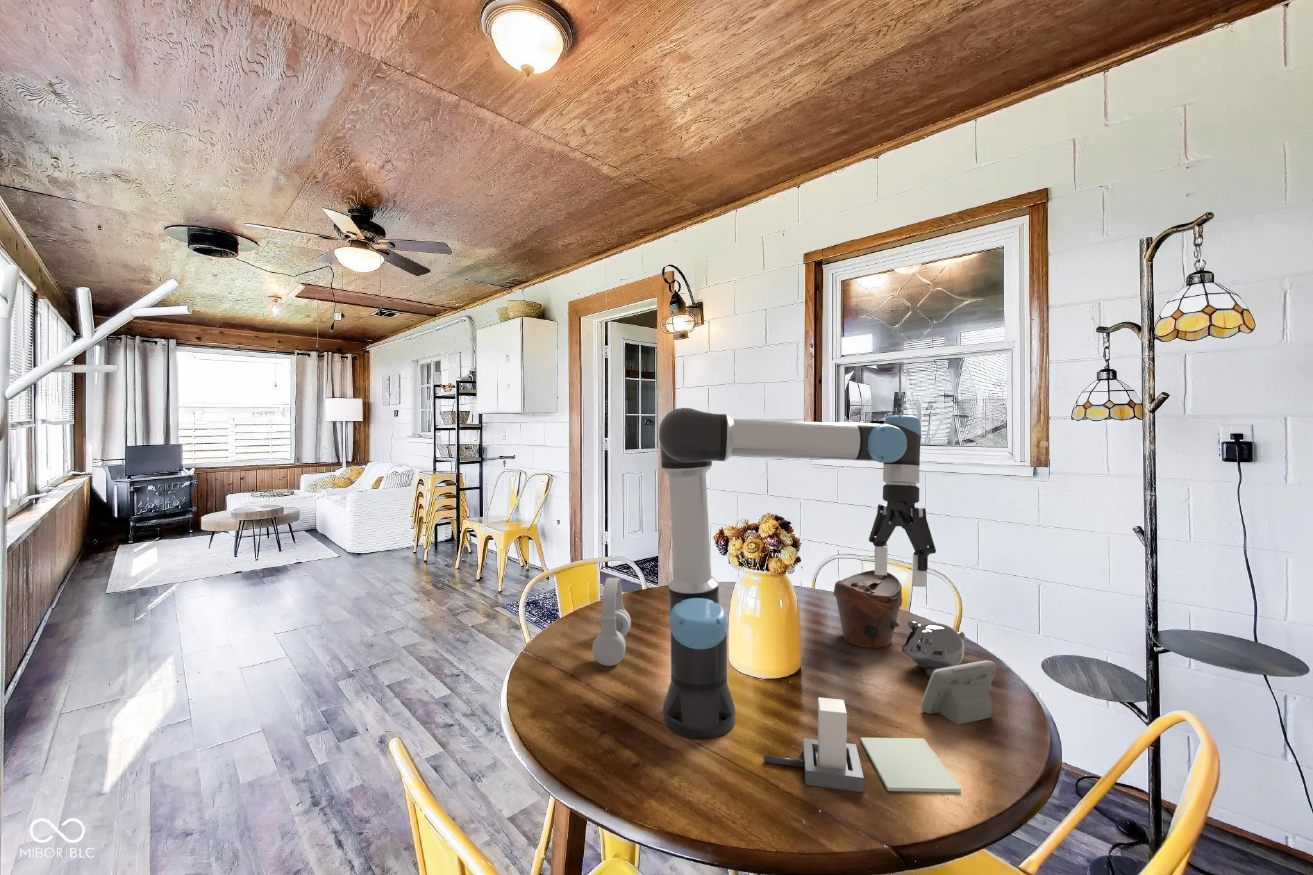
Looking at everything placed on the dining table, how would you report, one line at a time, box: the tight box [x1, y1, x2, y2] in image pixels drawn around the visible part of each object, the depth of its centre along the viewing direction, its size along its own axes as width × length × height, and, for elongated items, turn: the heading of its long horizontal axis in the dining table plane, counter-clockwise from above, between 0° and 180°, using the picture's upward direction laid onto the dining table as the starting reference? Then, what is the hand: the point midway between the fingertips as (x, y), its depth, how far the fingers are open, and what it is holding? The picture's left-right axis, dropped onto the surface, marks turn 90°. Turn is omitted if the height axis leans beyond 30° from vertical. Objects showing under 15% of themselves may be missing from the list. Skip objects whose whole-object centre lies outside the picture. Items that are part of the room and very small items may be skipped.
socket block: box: [763, 737, 865, 793], centre depth 98 cm, size 17×9×2 cm, turn 78°
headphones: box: [592, 577, 632, 667], centre depth 147 cm, size 20×8×19 cm, turn 178°
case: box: [833, 569, 903, 649], centre depth 152 cm, size 18×20×18 cm
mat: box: [860, 737, 962, 793], centre depth 99 cm, size 12×14×1 cm
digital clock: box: [920, 659, 998, 726], centre depth 115 cm, size 16×9×11 cm, turn 95°
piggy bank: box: [901, 620, 966, 678], centre depth 133 cm, size 11×15×12 cm
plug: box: [815, 696, 849, 770], centre depth 97 cm, size 5×5×12 cm
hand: (898, 580), depth 121 cm, fingers open, 13 cm apart
